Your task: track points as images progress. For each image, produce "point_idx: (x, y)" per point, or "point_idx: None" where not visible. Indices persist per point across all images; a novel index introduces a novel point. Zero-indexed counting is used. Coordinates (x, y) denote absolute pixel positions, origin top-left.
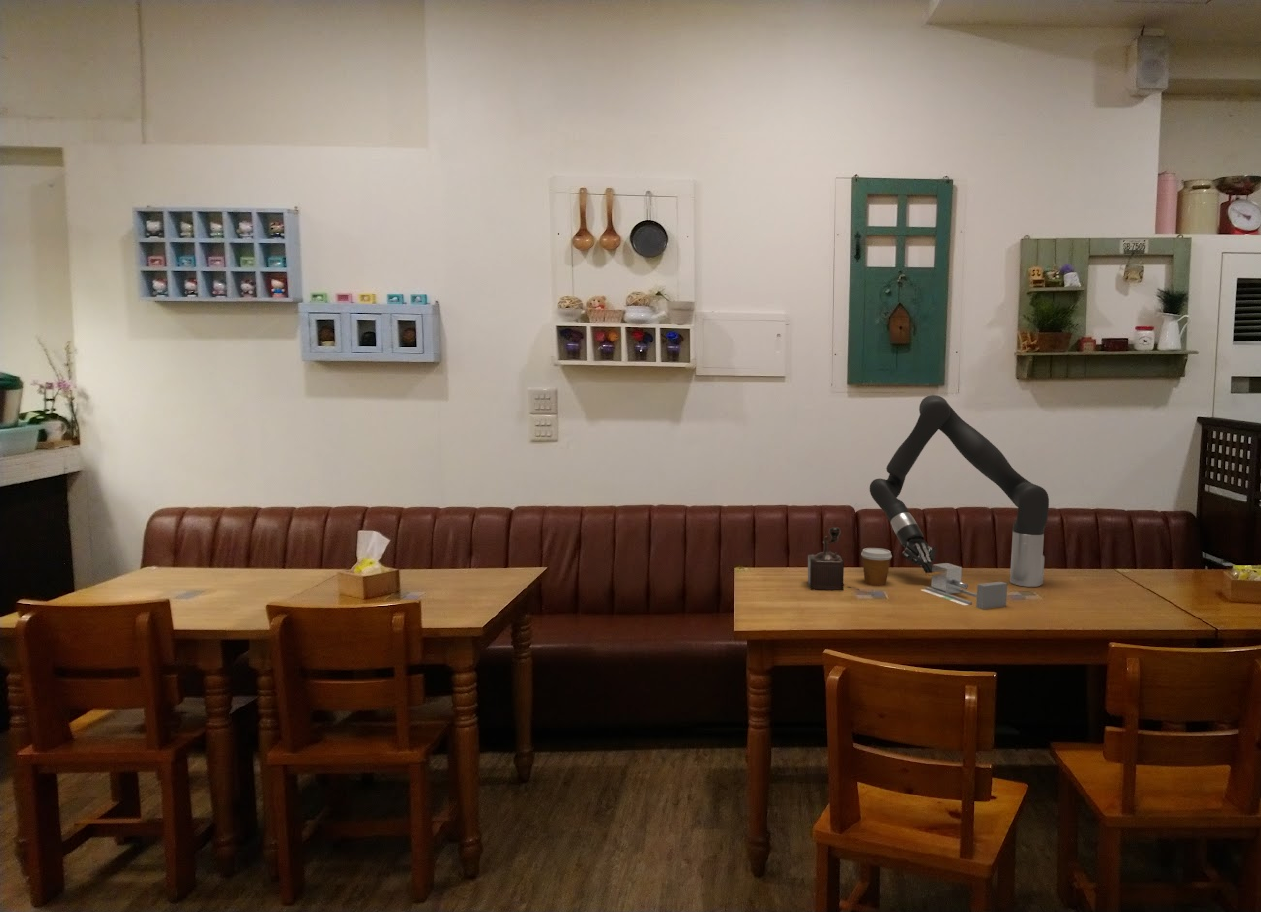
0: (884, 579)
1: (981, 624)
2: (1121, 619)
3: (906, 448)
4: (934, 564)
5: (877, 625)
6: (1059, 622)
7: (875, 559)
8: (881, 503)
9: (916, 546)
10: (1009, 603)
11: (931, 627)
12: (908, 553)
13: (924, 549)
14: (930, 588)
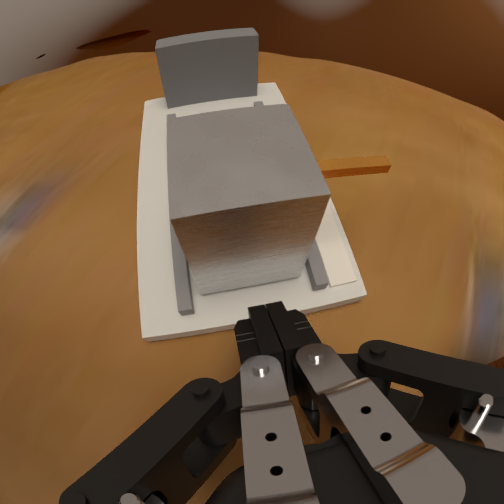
0: (489, 365)
1: (299, 64)
2: (34, 91)
3: None
4: (313, 192)
5: (480, 115)
6: (134, 66)
7: None
8: None
9: (444, 459)
10: (96, 155)
11: (401, 79)
12: (495, 372)
13: (292, 466)
14: (317, 254)
